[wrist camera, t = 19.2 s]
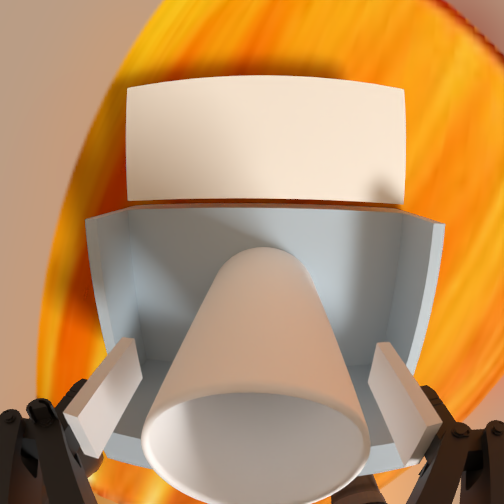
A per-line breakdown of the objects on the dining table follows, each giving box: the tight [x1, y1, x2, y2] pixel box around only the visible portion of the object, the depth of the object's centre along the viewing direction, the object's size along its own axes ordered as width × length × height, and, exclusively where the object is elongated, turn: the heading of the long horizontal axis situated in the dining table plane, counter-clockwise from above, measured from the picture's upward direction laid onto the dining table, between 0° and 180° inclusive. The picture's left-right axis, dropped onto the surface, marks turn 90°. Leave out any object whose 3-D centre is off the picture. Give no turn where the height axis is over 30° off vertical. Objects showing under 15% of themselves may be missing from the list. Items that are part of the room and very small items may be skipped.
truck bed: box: [85, 203, 445, 476], centre depth 21 cm, size 27×18×14 cm, turn 90°
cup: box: [141, 247, 370, 504], centre depth 16 cm, size 8×8×16 cm
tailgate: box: [126, 75, 406, 204], centre depth 20 cm, size 21×1×9 cm
